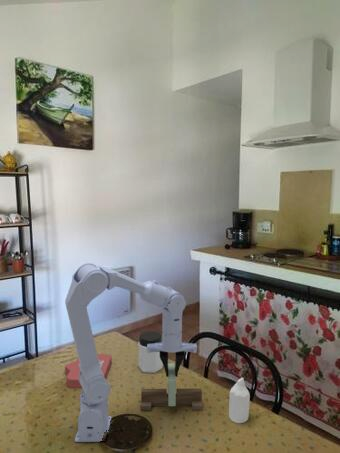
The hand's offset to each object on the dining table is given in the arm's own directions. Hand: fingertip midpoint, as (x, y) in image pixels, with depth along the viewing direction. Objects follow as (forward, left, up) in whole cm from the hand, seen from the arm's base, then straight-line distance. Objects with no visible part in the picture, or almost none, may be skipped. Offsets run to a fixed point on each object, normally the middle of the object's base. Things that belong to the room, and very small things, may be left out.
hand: (171, 375), depth 101 cm
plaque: (+18, +29, -10) cm, 36 cm away
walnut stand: (0, 0, -9) cm, 9 cm away
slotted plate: (0, 0, -7) cm, 7 cm away
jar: (+22, +7, -9) cm, 25 cm away
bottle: (-6, -19, -9) cm, 22 cm away
